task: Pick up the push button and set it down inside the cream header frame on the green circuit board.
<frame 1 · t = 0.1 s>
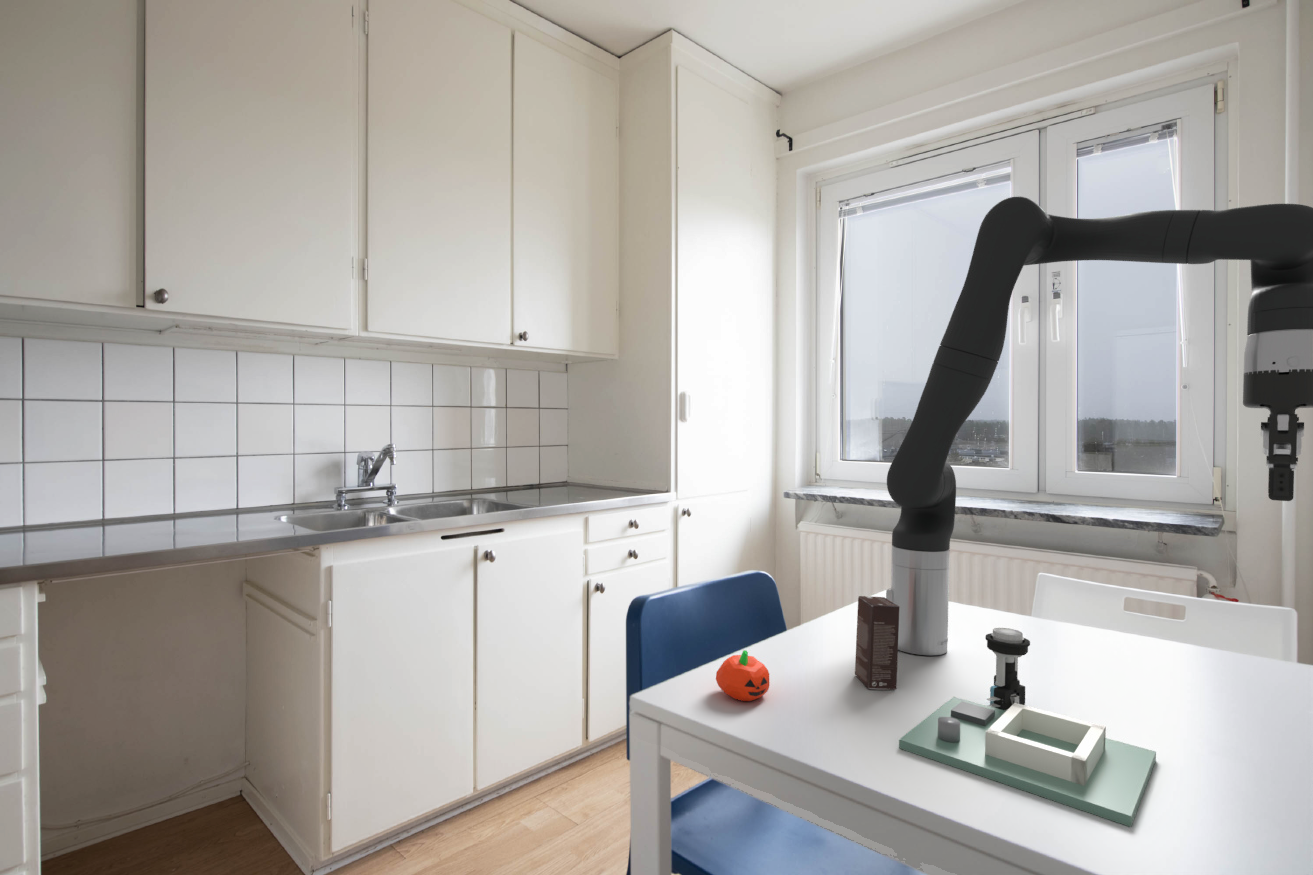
hand: (1280, 498, 84), 29 cm above the table, fingers open, 8 cm apart
box: (875, 683, 98), on the table
pumpkin: (742, 696, 92), on the table
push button: (1003, 707, 90), on the table
board: (1025, 753, 76), on the table
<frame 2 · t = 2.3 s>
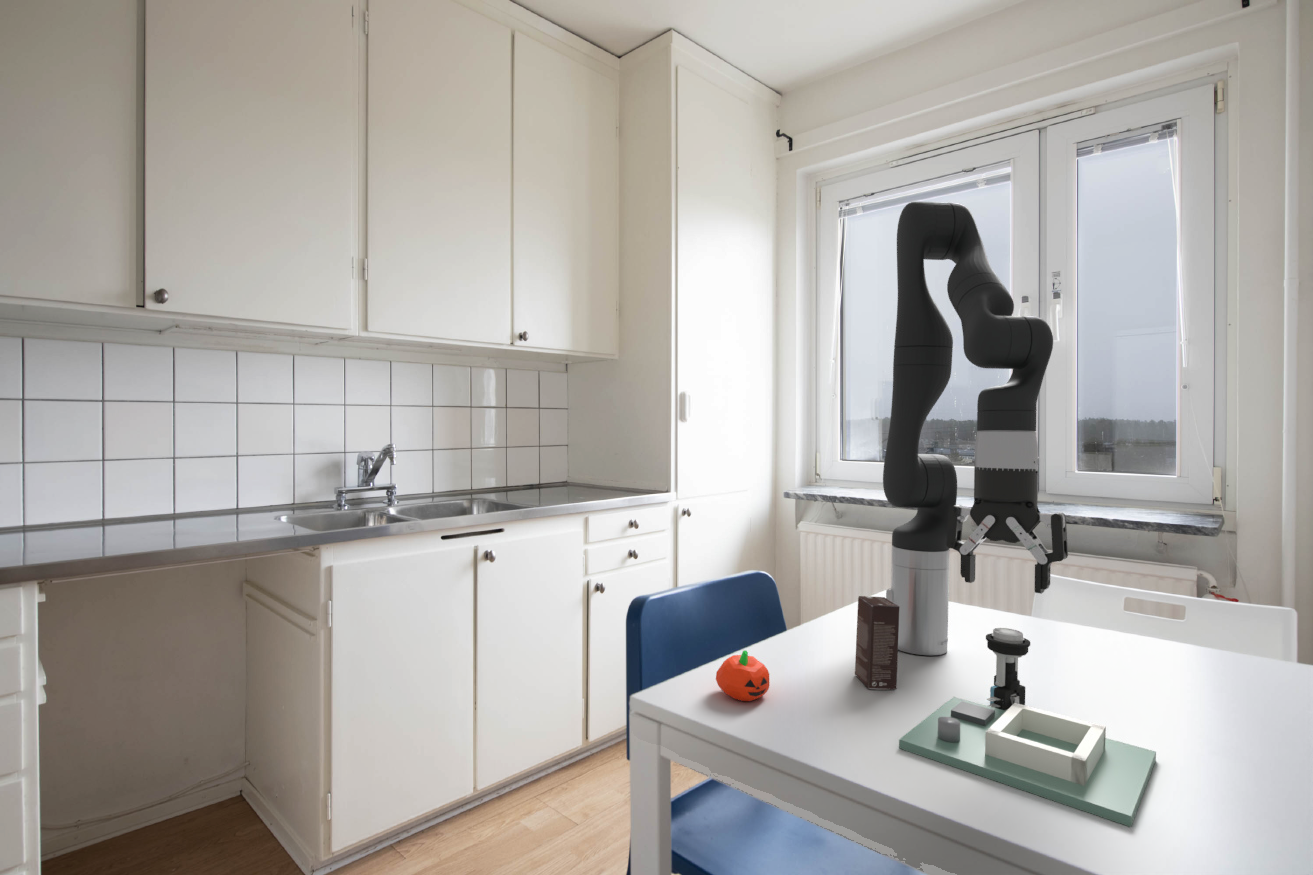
hand: (1003, 586, 89), 16 cm above the table, fingers open, 8 cm apart
nothing on the table moved.
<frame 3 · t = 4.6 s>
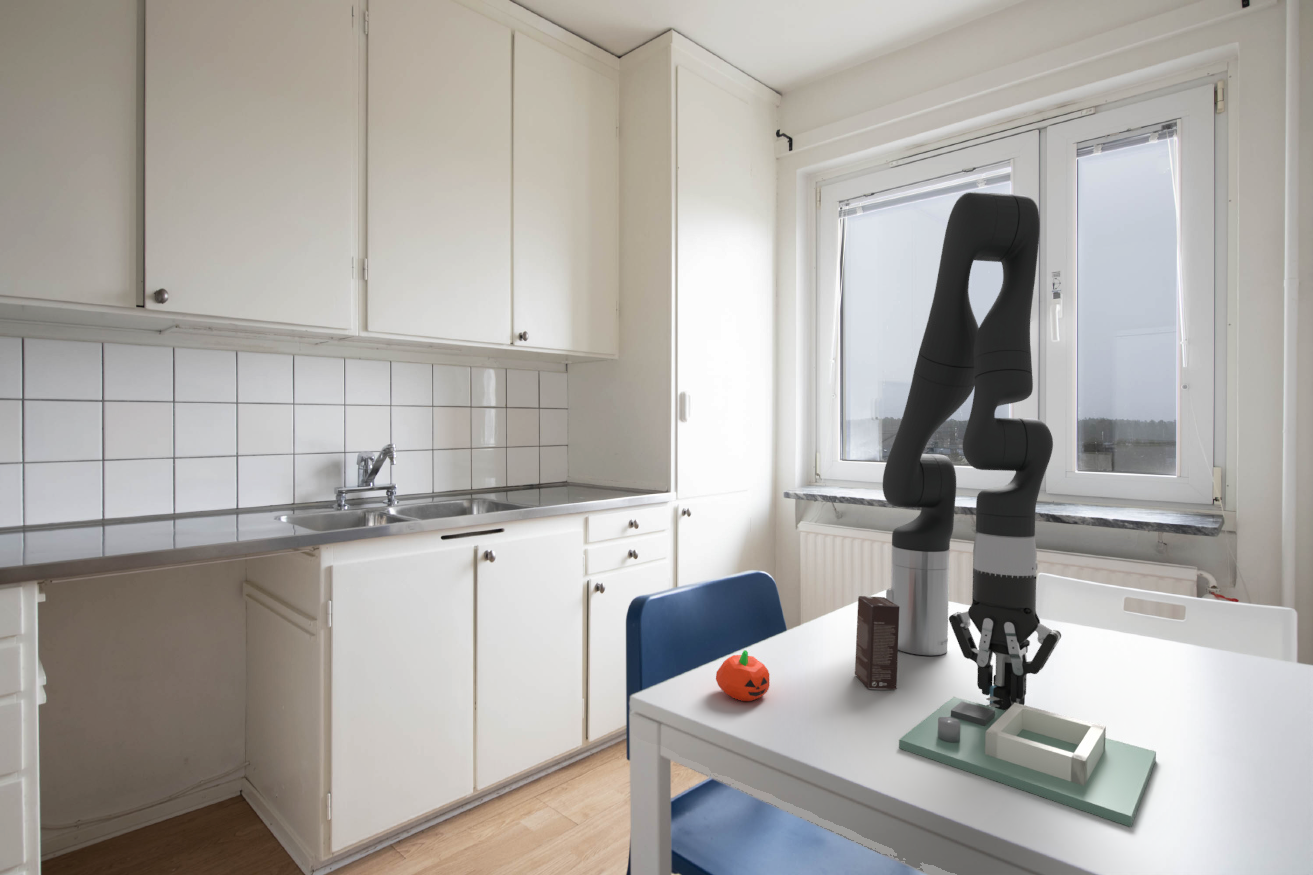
hand: (1001, 696, 89), 2 cm above the table, fingers closed on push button, 3 cm apart
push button: (1002, 707, 90), on the table, touching gripper
everything else where it was.
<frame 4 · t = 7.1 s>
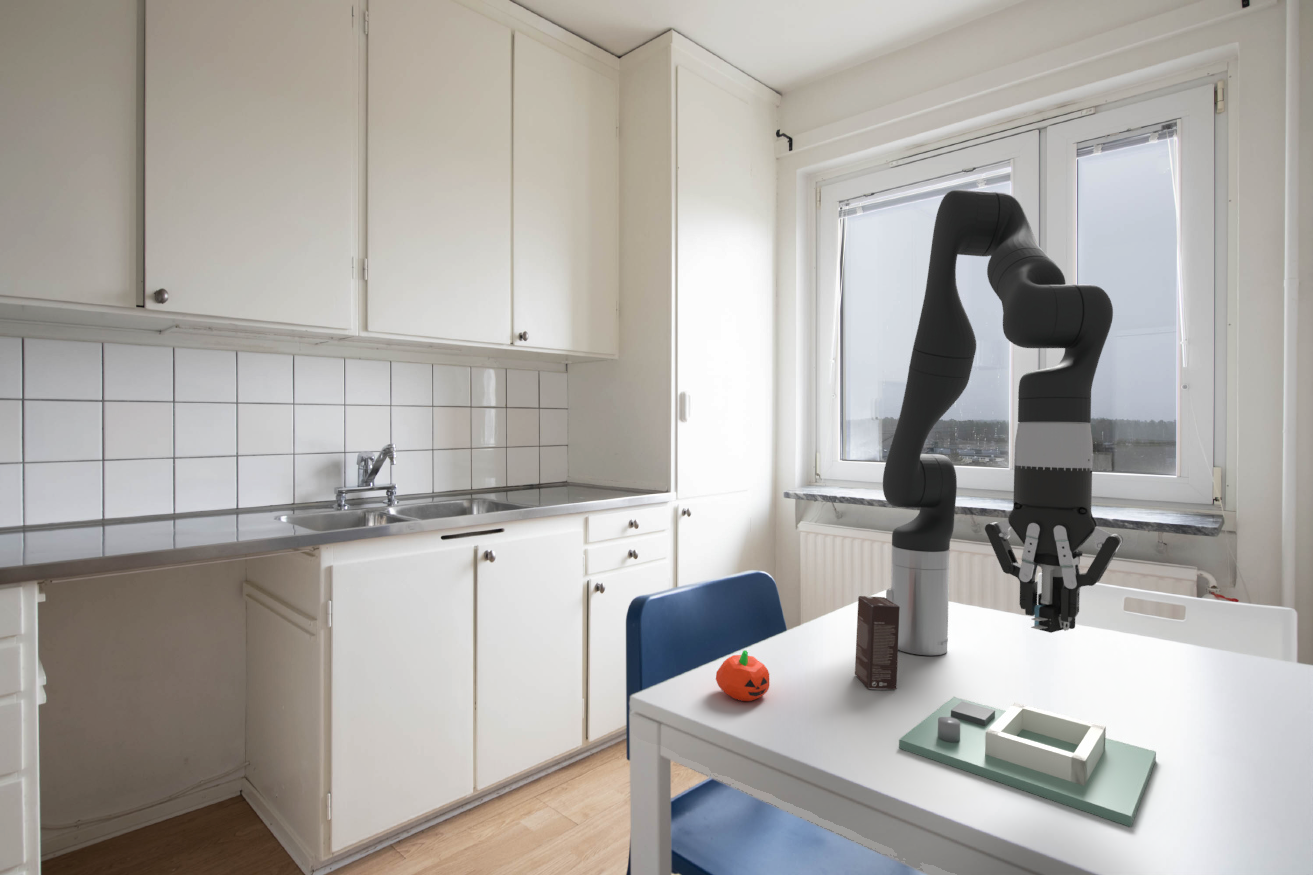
hand: (1048, 616, 75), 16 cm above the table, fingers closed on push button, 3 cm apart
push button: (1049, 630, 76), point 14 cm above the table, touching gripper
everything else where it was.
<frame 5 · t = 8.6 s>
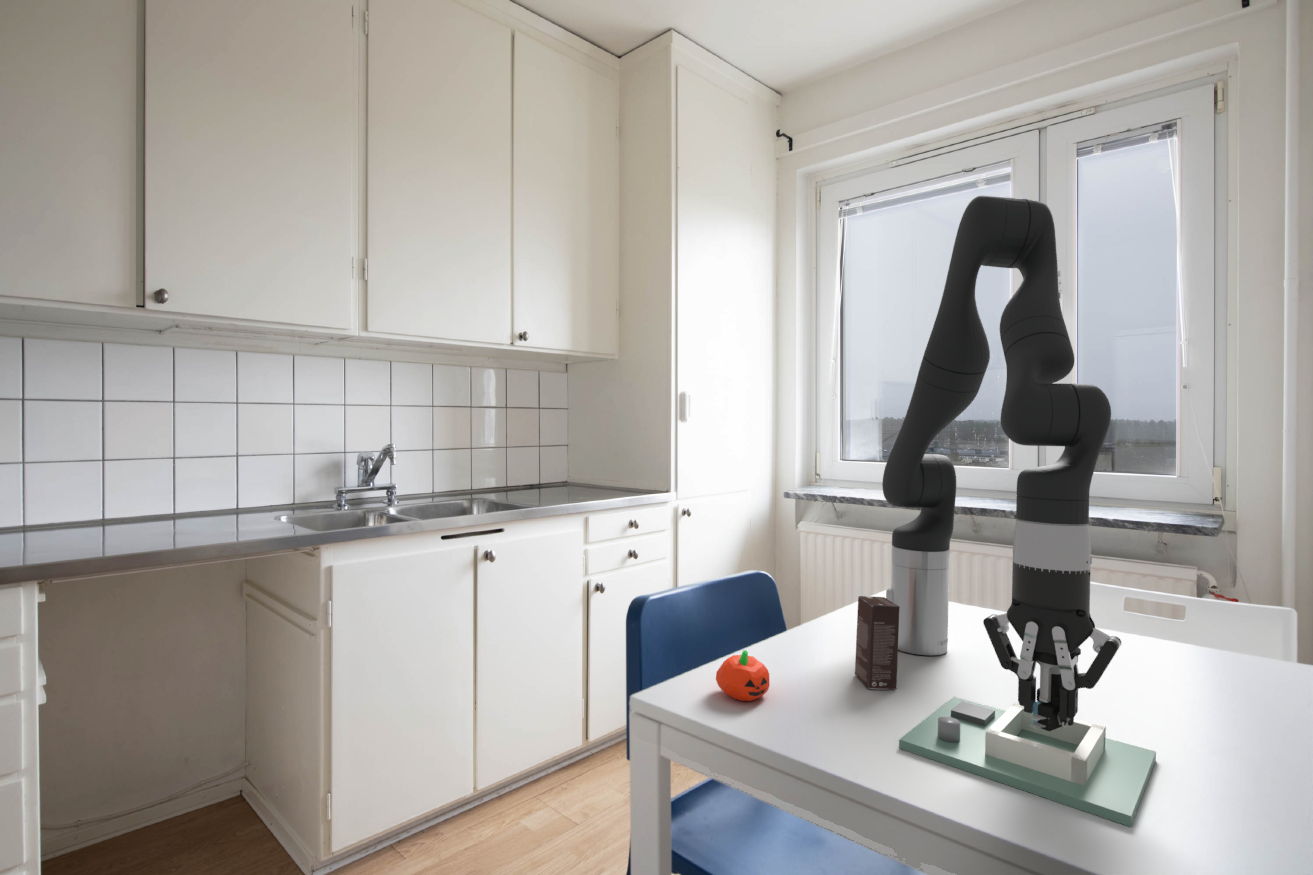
hand: (1047, 714, 75), 5 cm above the table, fingers closed on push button, 3 cm apart
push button: (1048, 727, 76), point 3 cm above the table, touching gripper
everything else where it was.
when the fingers open (5 cm above the table, at t = 9.4 s): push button drops 2 cm, resting on board.
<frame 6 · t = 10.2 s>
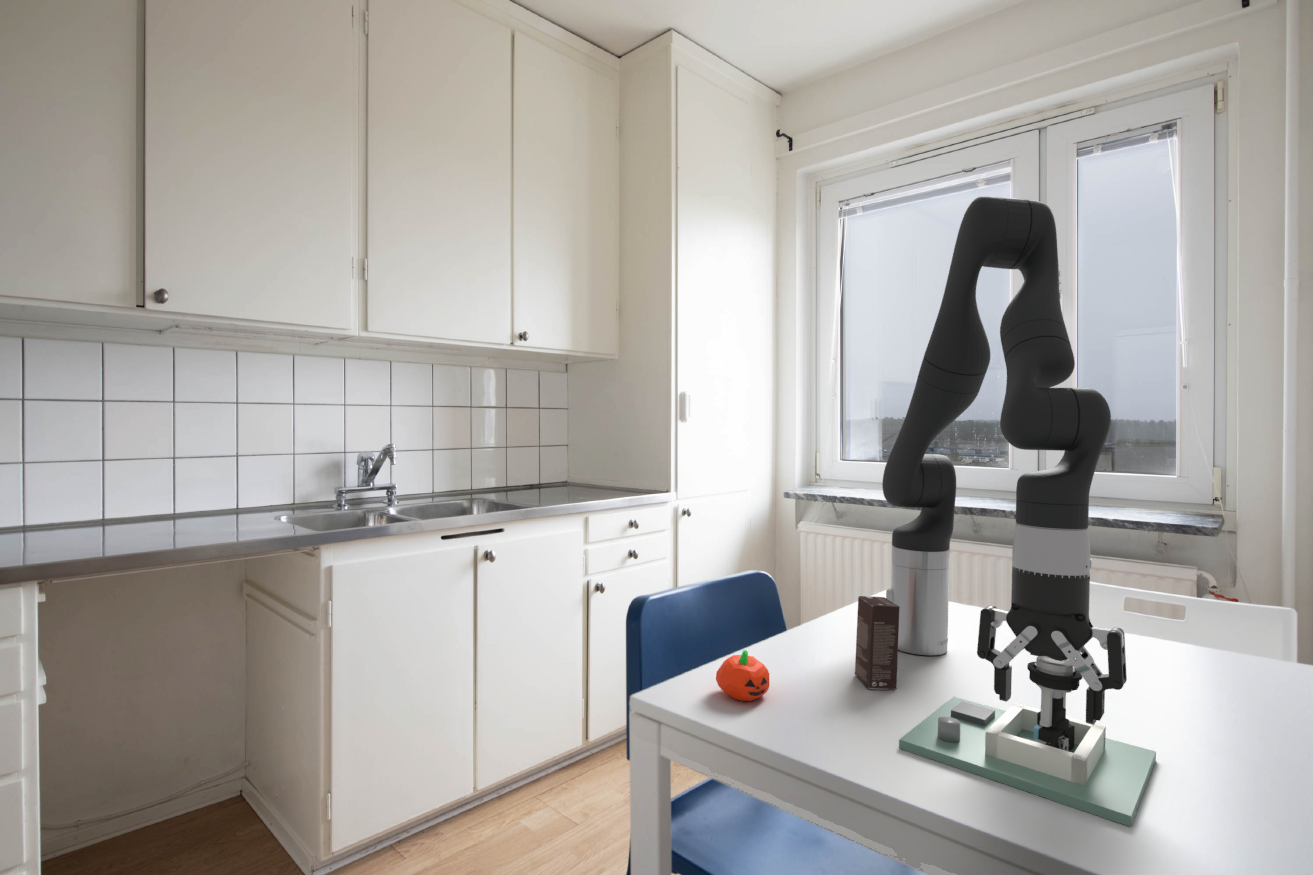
hand: (1046, 710, 75), 6 cm above the table, fingers open, 8 cm apart
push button: (1048, 751, 75), point 1 cm above the table, touching board
everything else where it was.
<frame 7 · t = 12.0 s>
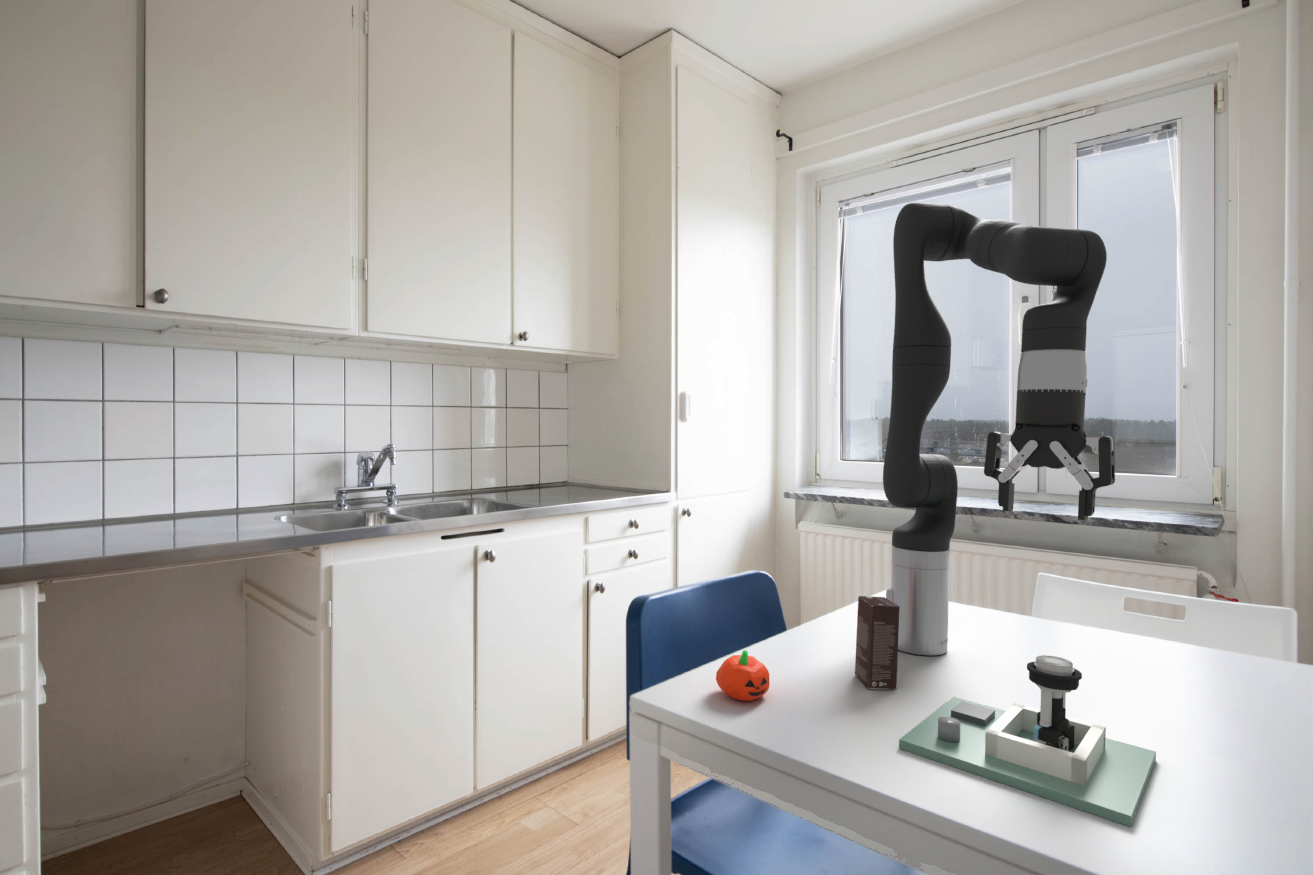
hand: (1044, 515, 85), 26 cm above the table, fingers open, 8 cm apart
nothing on the table moved.
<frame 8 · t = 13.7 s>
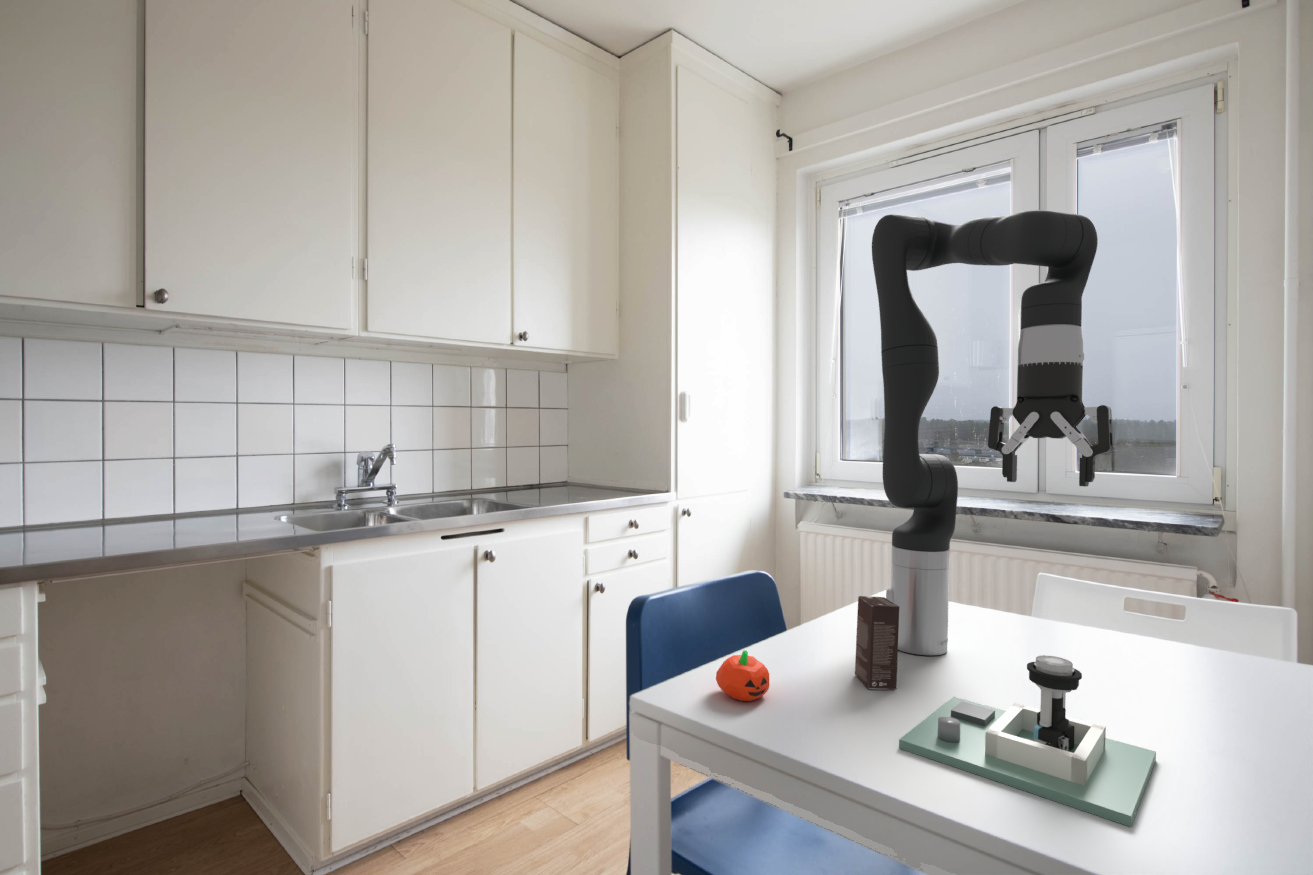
hand: (1046, 483, 89), 30 cm above the table, fingers open, 8 cm apart
nothing on the table moved.
at the end: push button 0.5 cm from the target spot on the board, point 0.8 cm above the board's base; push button tilted 0°; the gripper is holding nothing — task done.
